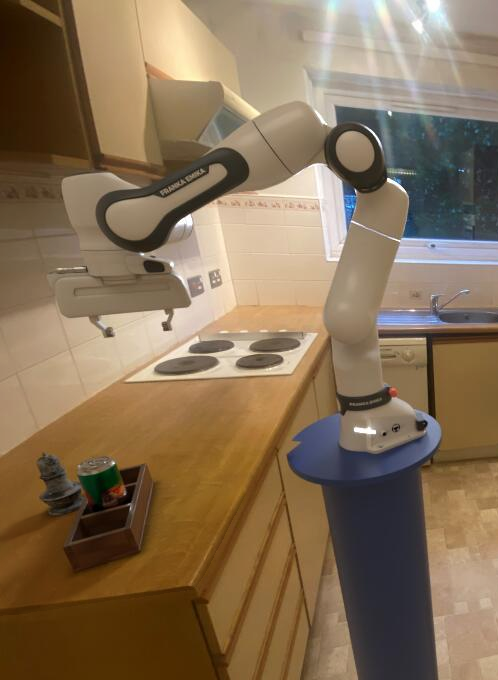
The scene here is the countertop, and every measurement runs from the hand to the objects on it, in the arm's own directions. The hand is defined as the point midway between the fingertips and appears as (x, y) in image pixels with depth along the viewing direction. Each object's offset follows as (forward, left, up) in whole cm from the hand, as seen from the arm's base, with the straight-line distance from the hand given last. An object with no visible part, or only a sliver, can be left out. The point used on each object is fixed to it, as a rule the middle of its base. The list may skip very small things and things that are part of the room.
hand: (139, 333), depth 89 cm
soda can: (+8, +22, -28) cm, 37 cm away
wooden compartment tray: (+8, +22, -29) cm, 37 cm away
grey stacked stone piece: (+17, +11, -29) cm, 36 cm away
